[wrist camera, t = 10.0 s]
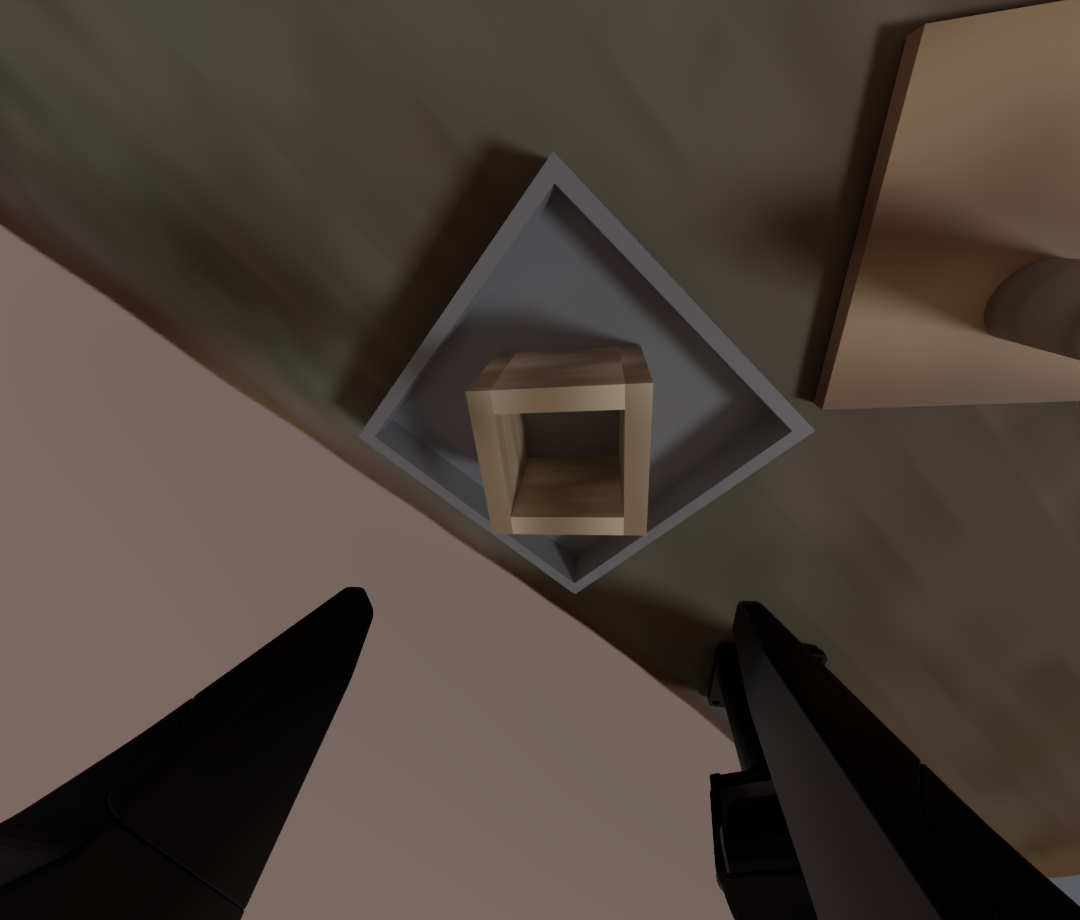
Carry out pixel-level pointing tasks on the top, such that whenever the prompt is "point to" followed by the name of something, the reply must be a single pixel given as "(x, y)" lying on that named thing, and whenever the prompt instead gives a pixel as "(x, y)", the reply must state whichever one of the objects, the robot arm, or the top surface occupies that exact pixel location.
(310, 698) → the robot arm
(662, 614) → the top surface
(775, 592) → the top surface
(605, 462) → the hollow wooden box
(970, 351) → the stake block
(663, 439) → the slate tray
